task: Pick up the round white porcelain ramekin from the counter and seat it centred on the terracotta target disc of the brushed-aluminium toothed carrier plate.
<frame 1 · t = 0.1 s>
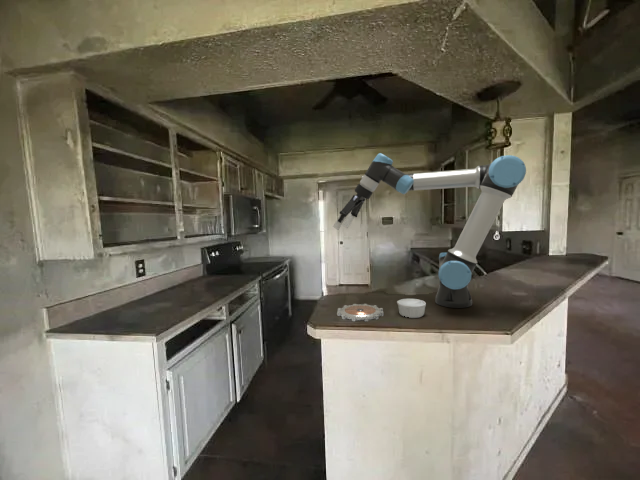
hand: (340, 227, 144), 36 cm above the countertop, tool tilted 35°, fingers open, 13 cm apart
carrier plate: (360, 313, 133), on the countertop
ramekin: (411, 315, 129), on the countertop
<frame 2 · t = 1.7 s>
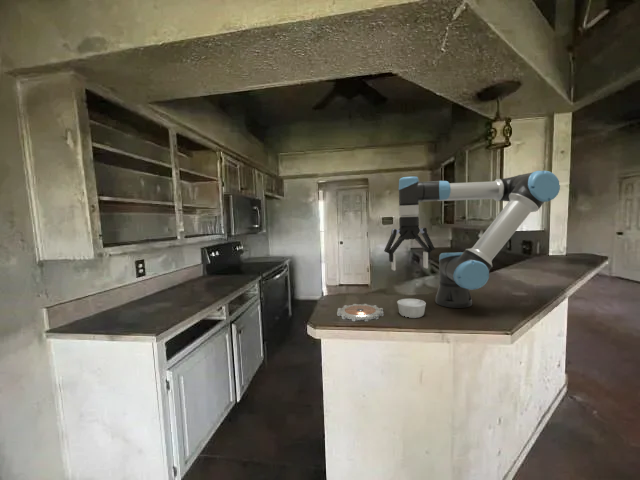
hand: (409, 268, 128), 19 cm above the countertop, tool pointing down, fingers open, 13 cm apart
nothing on the countertop moved.
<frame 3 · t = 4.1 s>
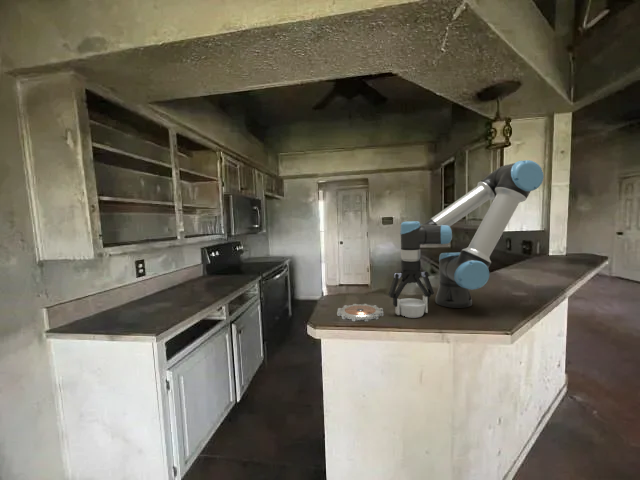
hand: (411, 312, 129), 1 cm above the countertop, tool pointing down, fingers closed on ramekin, 11 cm apart
ramekin: (411, 314, 129), on the countertop, touching gripper
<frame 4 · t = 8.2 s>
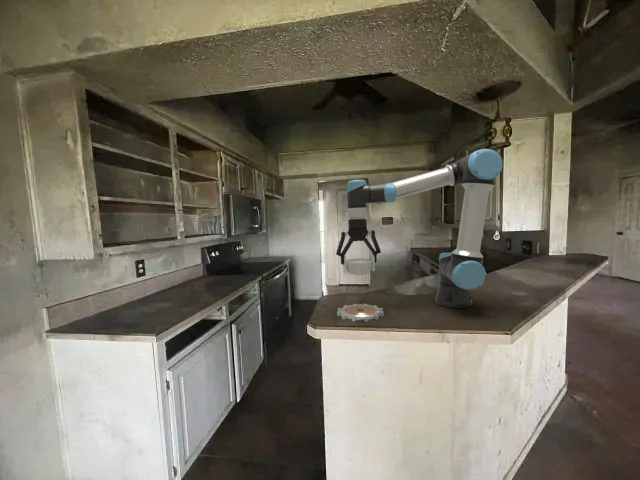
hand: (359, 271, 131), 18 cm above the countertop, tool pointing down, fingers closed on ramekin, 11 cm apart
ramekin: (359, 273, 131), point 17 cm above the countertop, touching gripper
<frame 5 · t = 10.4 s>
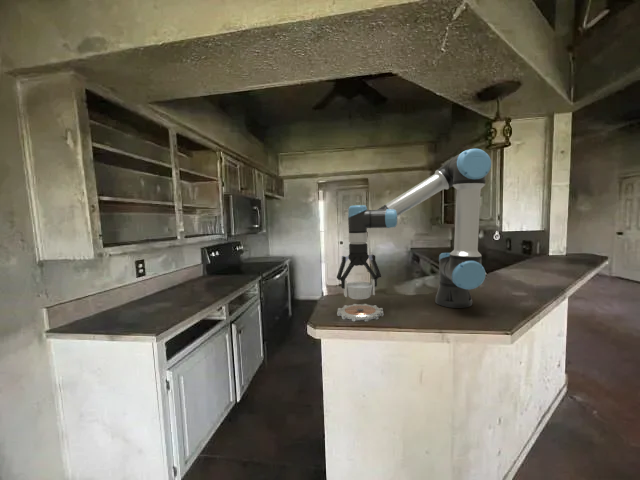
hand: (359, 295, 132), 8 cm above the countertop, tool pointing down, fingers closed on ramekin, 11 cm apart
ramekin: (359, 297, 132), point 7 cm above the countertop, touching gripper
when the fingers open (3 cm above the countertop, at t = 12.4 s): ramekin stays where it is, resting on carrier plate.
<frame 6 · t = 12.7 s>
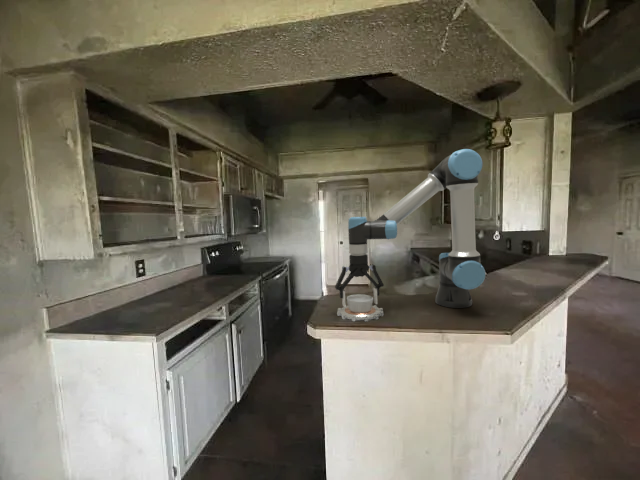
hand: (359, 304, 132), 4 cm above the countertop, tool pointing down, fingers open, 13 cm apart
ramekin: (360, 310, 132), point 1 cm above the countertop, touching carrier plate
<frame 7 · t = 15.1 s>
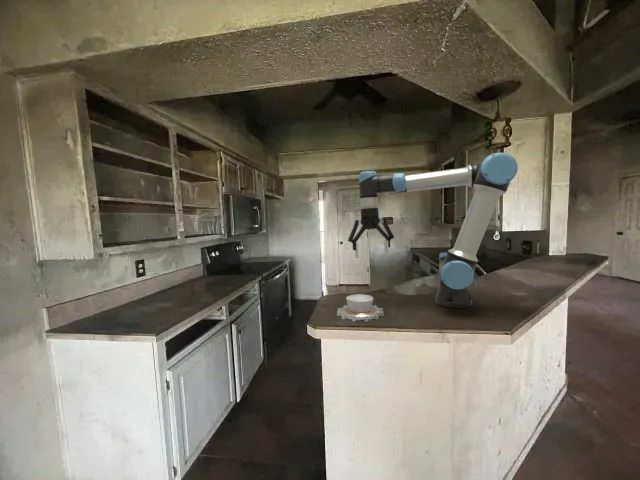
hand: (372, 256, 138), 23 cm above the countertop, tool pointing down, fingers open, 13 cm apart
nothing on the countertop moved.
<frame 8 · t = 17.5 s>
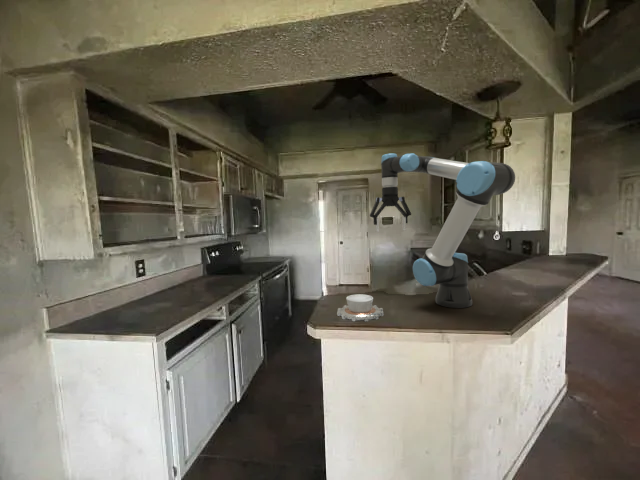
hand: (390, 231, 154), 33 cm above the countertop, tool pointing down, fingers open, 13 cm apart
nothing on the countertop moved.
at the end: ramekin inside the target area on the carrier plate (0.0 cm from its centre), point 1.4 cm above the carrier plate's base; ramekin tilted 0°; the gripper is holding nothing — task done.
